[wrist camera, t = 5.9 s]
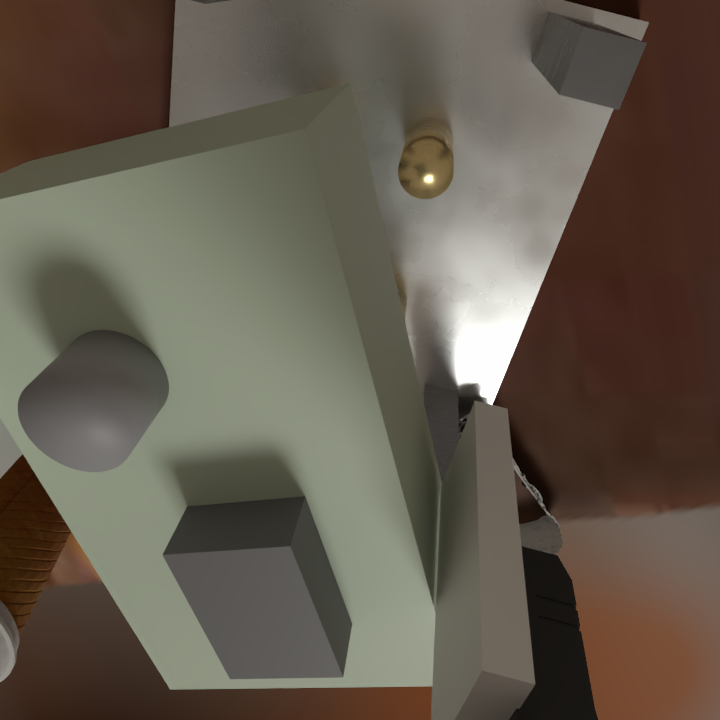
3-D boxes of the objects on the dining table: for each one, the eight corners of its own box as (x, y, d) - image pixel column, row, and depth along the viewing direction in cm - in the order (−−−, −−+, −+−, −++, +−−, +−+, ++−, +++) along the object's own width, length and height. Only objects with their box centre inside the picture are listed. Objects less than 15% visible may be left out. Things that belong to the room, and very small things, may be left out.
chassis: (167, 340, 32) (89, 441, 25) (193, -96, 22) (78, -124, 15) (479, 418, 32) (486, 540, 25) (640, 19, 22) (721, 42, 15)
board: (222, 561, 19) (146, 748, 14) (28, 161, 13) (-199, 262, 9) (456, 547, 17) (454, 752, 13) (350, 82, 12) (279, 154, 7)
